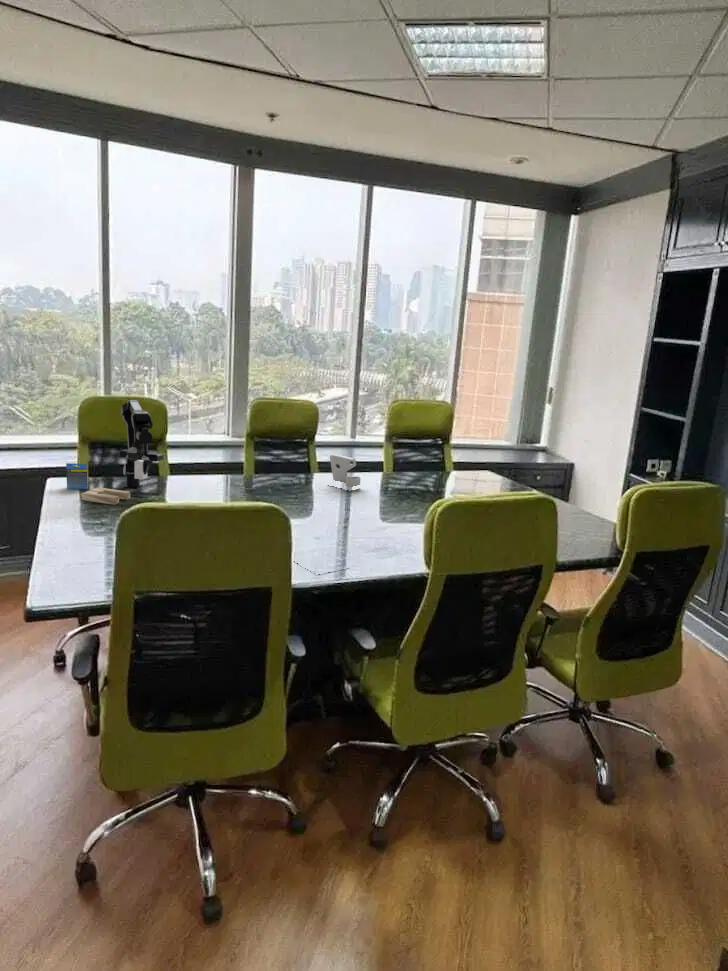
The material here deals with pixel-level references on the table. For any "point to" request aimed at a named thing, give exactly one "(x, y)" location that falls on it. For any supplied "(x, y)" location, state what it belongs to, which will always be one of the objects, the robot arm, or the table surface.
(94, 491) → the notched board
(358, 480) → the phone holder
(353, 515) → the table surface
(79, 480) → the label tape cartridge
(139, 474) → the grey peg
